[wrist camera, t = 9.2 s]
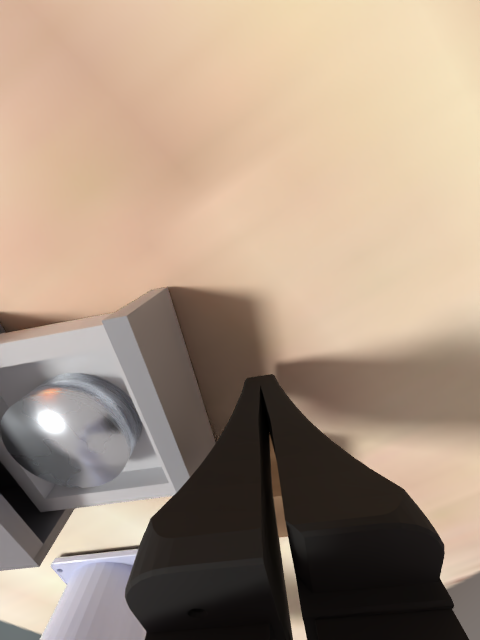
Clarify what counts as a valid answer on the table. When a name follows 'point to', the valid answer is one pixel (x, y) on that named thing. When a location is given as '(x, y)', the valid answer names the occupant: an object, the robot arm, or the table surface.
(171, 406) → the grey drawer
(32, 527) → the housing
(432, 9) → the table surface
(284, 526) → the walnut block
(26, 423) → the disc
